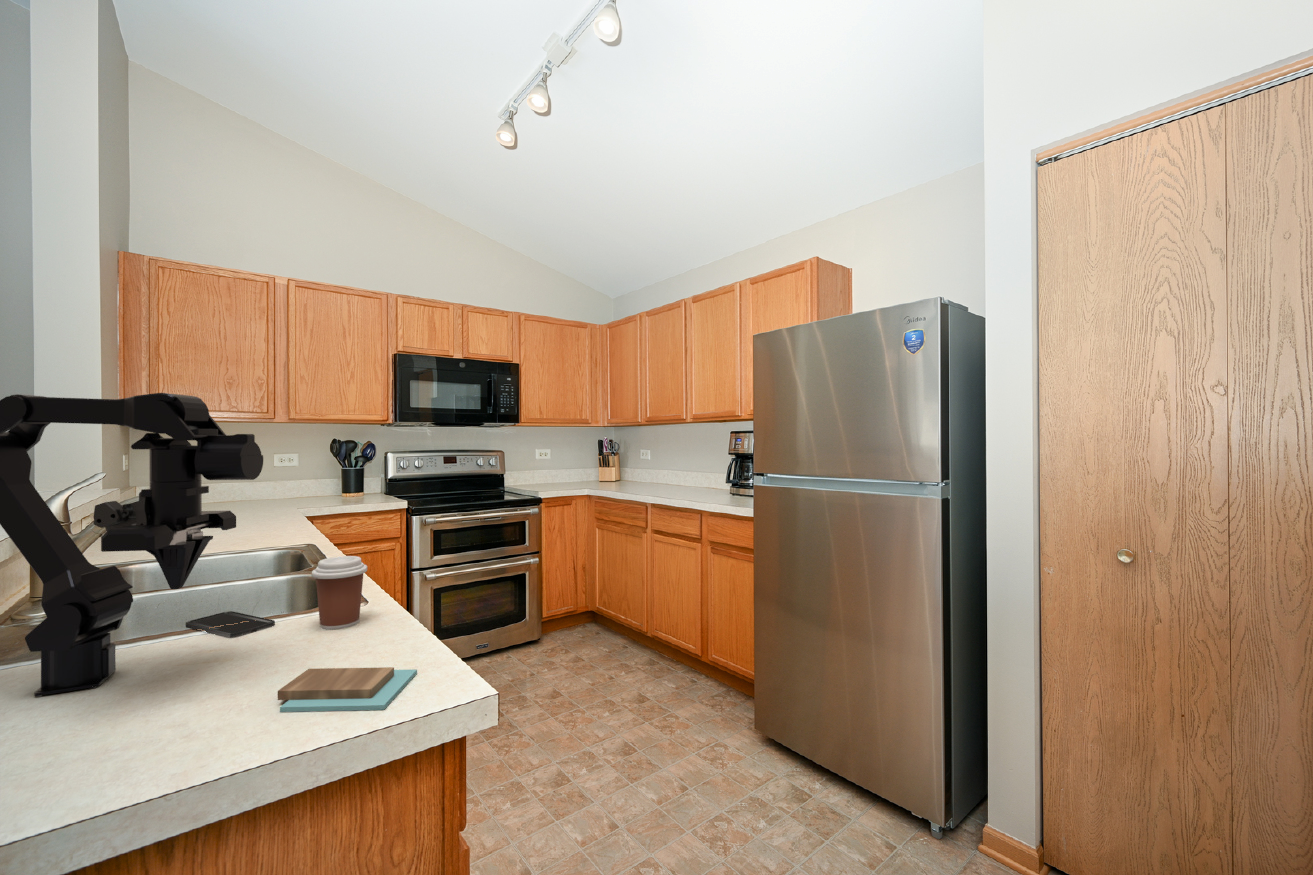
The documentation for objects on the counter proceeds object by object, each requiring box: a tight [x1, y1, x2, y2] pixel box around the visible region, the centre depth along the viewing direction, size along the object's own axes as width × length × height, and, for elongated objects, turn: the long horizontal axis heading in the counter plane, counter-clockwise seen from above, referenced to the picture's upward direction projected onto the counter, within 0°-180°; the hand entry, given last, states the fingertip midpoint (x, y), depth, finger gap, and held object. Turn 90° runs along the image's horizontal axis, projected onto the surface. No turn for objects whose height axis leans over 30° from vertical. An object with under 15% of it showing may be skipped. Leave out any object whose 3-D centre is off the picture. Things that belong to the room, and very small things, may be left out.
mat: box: [279, 669, 418, 713], centre depth 77 cm, size 13×11×1 cm
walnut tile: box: [277, 666, 395, 701], centre depth 77 cm, size 1×7×12 cm
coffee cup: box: [311, 555, 368, 631], centre depth 104 cm, size 9×9×12 cm
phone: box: [185, 610, 276, 639], centre depth 103 cm, size 8×1×15 cm
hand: (176, 588), depth 81 cm, fingers closed
